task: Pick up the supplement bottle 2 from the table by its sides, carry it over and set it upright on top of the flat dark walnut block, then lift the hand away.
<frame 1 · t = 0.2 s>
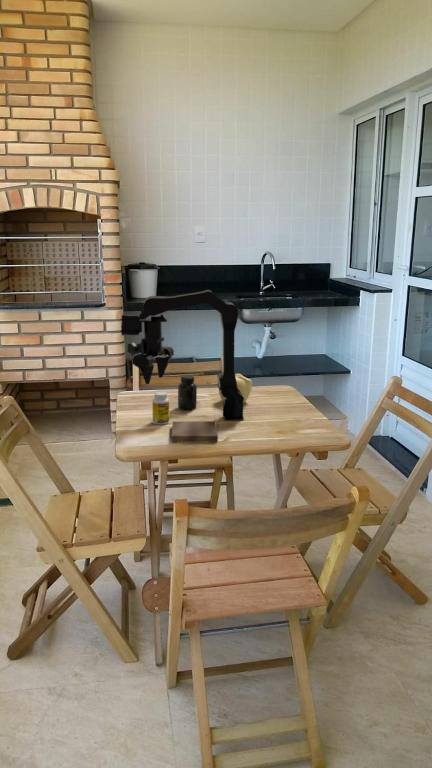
hand: (154, 380, 199), 14 cm above the table, tool pointing down, fingers open, 9 cm apart
sculpture: (234, 402, 223), on the table
supplement bottle: (187, 408, 215), on the table
walnut block: (194, 434, 188), on the table
supplement bottle 2: (160, 423, 199), on the table
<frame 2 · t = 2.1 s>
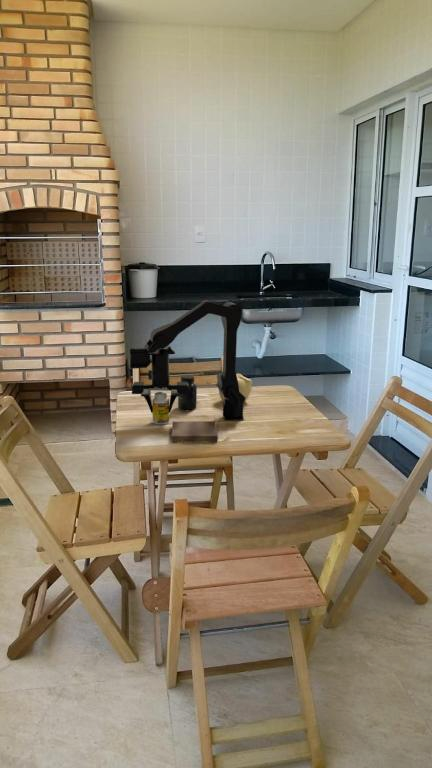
hand: (160, 412, 198), 4 cm above the table, tool pointing down, fingers closed on supplement bottle 2, 5 cm apart
supplement bottle 2: (160, 423, 199), on the table, touching gripper
everything else where it was.
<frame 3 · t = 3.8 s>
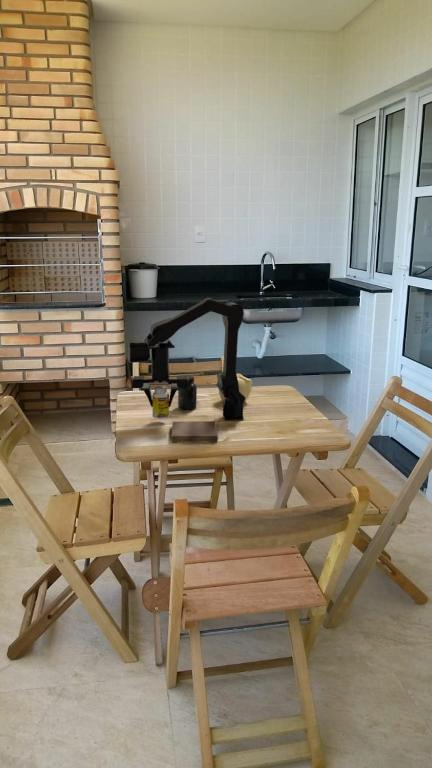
hand: (160, 406, 197), 6 cm above the table, tool pointing down, fingers closed on supplement bottle 2, 5 cm apart
supplement bottle 2: (161, 417, 198), point 2 cm above the table, touching gripper
everything else where it was.
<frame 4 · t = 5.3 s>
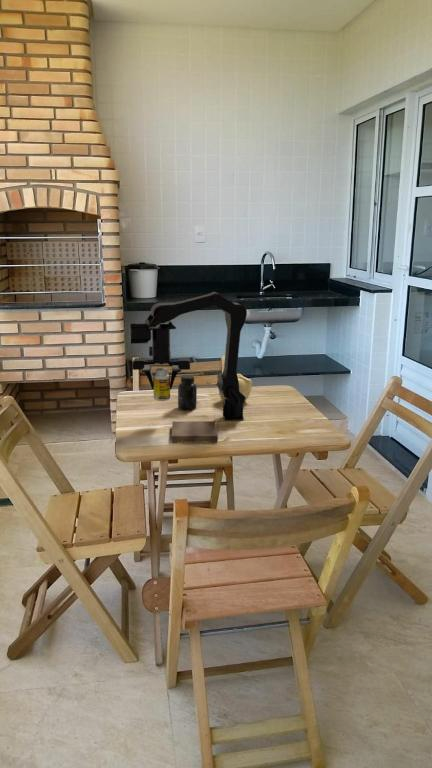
hand: (161, 388, 195), 12 cm above the table, tool pointing down, fingers closed on supplement bottle 2, 5 cm apart
supplement bottle 2: (162, 399, 196), point 8 cm above the table, touching gripper
everything else where it was.
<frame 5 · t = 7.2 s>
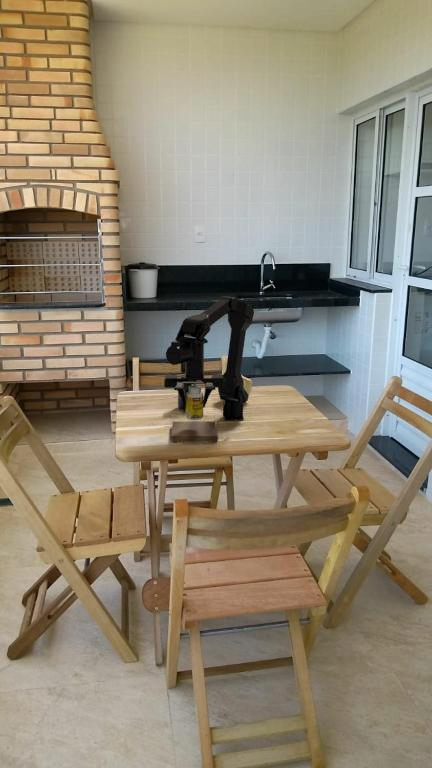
hand: (194, 407, 185), 9 cm above the table, tool pointing down, fingers closed on supplement bottle 2, 5 cm apart
supplement bottle 2: (194, 418, 186), point 5 cm above the table, touching gripper
everything else where it was.
when the fingers open (7 cm above the table, at t = 8.5 s): supplement bottle 2 drops 1 cm, resting on walnut block.
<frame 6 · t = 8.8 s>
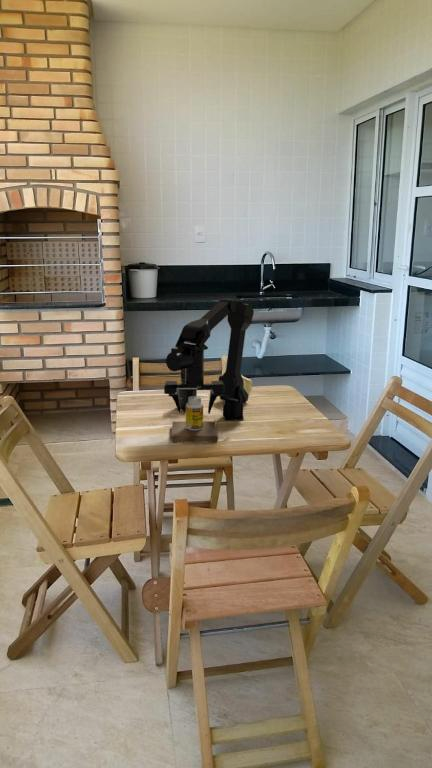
hand: (194, 413, 186), 7 cm above the table, tool pointing down, fingers open, 9 cm apart
supplement bottle 2: (194, 428, 187), point 2 cm above the table, touching walnut block
everything else where it was.
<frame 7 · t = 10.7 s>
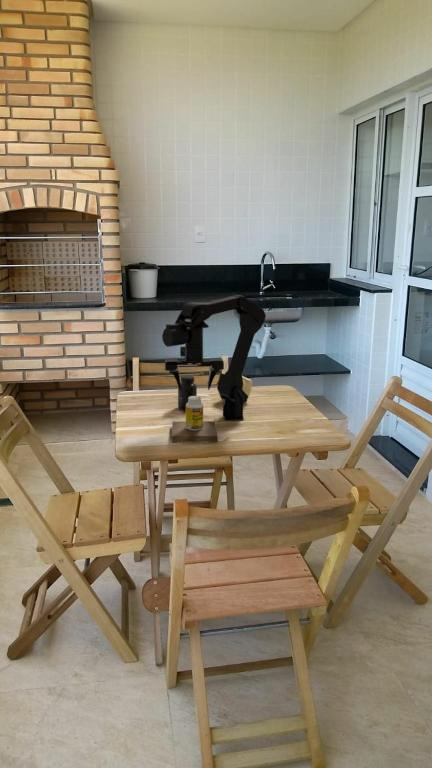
hand: (194, 389, 191), 13 cm above the table, tool pointing down, fingers open, 9 cm apart
nothing on the table moved.
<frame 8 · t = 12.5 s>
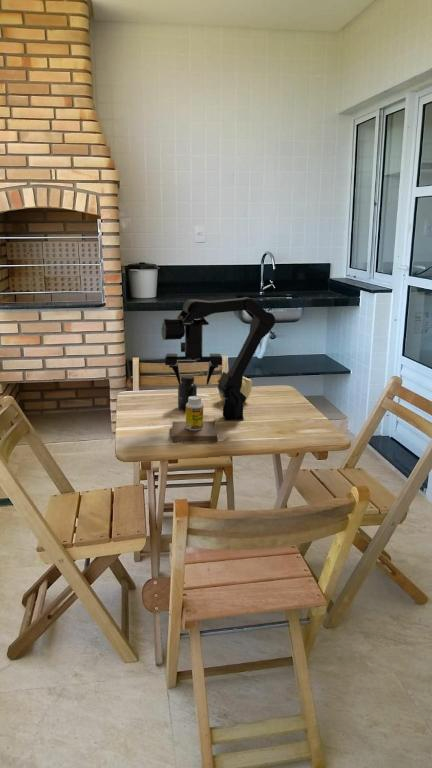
hand: (193, 384, 197), 13 cm above the table, tool pointing down, fingers open, 9 cm apart
nothing on the table moved.
at the end: supplement bottle 2 inside the target area on the walnut block (0.1 cm from its centre), point 1.8 cm above the walnut block's base; supplement bottle 2 tilted 0°; supplement bottle 2 touching walnut block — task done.
